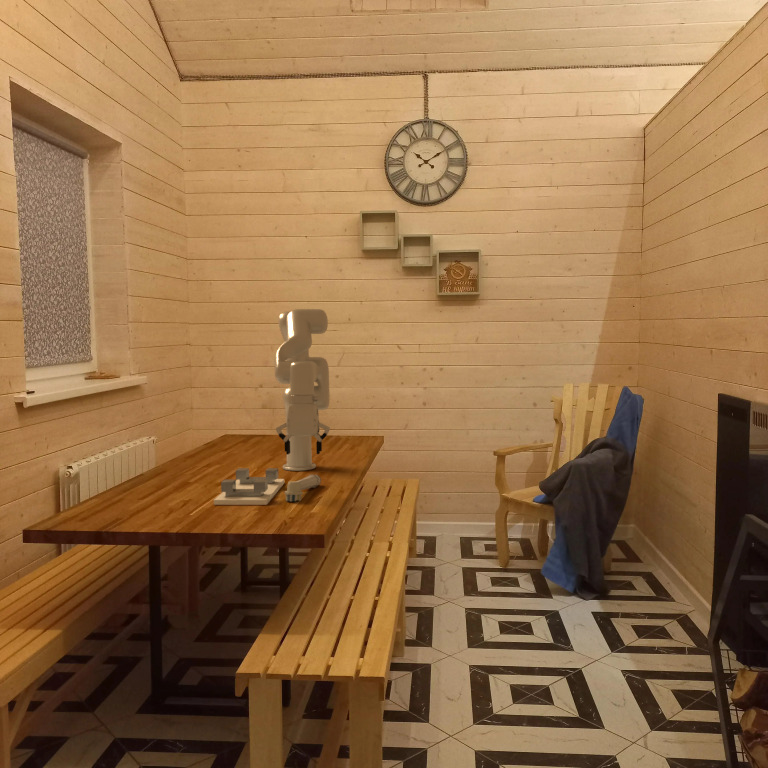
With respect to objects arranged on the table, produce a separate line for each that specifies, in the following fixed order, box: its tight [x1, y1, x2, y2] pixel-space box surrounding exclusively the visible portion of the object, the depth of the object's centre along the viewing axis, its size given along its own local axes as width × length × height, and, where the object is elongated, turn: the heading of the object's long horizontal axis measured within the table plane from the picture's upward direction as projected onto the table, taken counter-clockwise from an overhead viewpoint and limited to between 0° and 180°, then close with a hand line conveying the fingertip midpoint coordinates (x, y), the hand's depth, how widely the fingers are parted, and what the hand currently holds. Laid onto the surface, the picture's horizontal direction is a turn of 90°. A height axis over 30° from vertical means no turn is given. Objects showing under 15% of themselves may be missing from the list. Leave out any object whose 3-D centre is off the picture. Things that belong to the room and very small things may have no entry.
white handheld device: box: [284, 474, 322, 502], centre depth 219 cm, size 5×7×25 cm
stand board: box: [213, 478, 285, 506], centre depth 220 cm, size 30×16×2 cm, turn 178°
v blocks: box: [220, 467, 279, 497], centre depth 220 cm, size 22×14×4 cm, turn 178°
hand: (303, 453), depth 218 cm, fingers open, 9 cm apart
